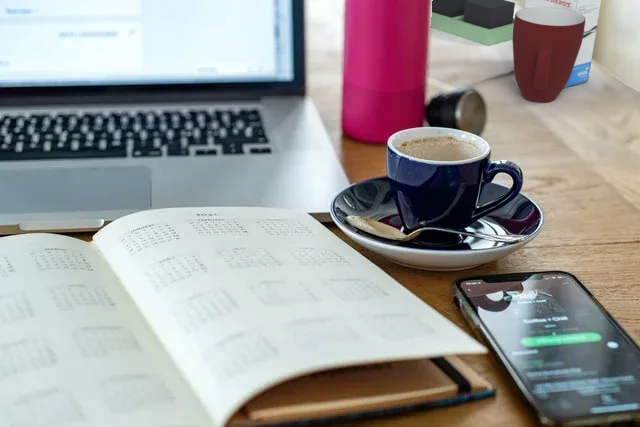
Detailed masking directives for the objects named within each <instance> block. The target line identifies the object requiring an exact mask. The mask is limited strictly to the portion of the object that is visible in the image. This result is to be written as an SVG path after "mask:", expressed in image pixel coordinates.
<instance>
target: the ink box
mask: <svg viewBox="0 0 640 427" xmlns="http://www.w3.org/2000/svg"><path fill="white" fill-rule="evenodd" d="M601 4H602V0H524V3H523V9H525V8H531V7H551V8H560V9H566V10H570V11H574V12H577V13H579V14H581V15H583V16H584V17H585V28H584V34H583V40H582V44H581V47H580V50H579V53H578V56H577V59H576V62H575V64H574V67H573V70H572V73H571V76H570V79H569V81H568V82H567V84H566V86H565V87H564V88H563V89H565V88H569V87H572V86H576V85H580V84H584V83H586V82H589V78H590V73H591V66H592V60H593V54H594V47H595V42H596V36H597V29H598V25H599V24H598V22H599V16H600V11H601Z"/></svg>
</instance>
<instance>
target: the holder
mask: <svg viewBox="0 0 640 427" xmlns="http://www.w3.org/2000/svg"><path fill="white" fill-rule="evenodd" d="M514 19H515V17H513V24H509V25H505V26H501V27H497V28H494V29H490V30H489V29H486V28H483V27H480V26H476V25H473V24H470V23H466V22H464V15H461V16H457V17H453V18H450V17H447V16H443V15H440V14H437V13H434V12H432V17H431V27H430V28H431V29H434V30H438V31H440V32H444V33H447V34H450V35H453V36H457V37H460V38H463V39H465V40H469V41H472V42H475V43H478V44H480V45H481V44H482V45H484V46H488V47H491V46H494V45H497V44H501V43H504V42H508V41H511V40H512V41H513V26H514Z"/></svg>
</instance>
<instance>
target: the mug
mask: <svg viewBox="0 0 640 427" xmlns="http://www.w3.org/2000/svg"><path fill="white" fill-rule="evenodd" d="M514 18H515V19H514V26H513V39H512V54H513V55H512V56H513V72H514V73H513V74H514V78H515V81H516V84H517V86H518V89H519V91H520V93H521V95H522V97H523V98H524V99H525V100H526V101H527V100H528V101H530V102H534V103H550V102H553V101H555V100H556V99H557V98H558V97H559V95H560V94H561V93H562V91H563V90H564V89H565V88H566V87H565V86H566V84H567V82H568V81H569V79H570V76H571V73H572V70H573V67H574V64H575V62H576V59H577V56H578V53H579V50H580V47H581V44H582V40H583V34H584V28H585V17H584V16H583V15H581V14H579V13H577V12H574V11H570V10H566V9H560V8H551V7H531V8H525V9H524V8H521V9H519V10H517V11H516V12H515V13H514ZM564 87H565V88H564Z"/></svg>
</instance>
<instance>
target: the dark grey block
mask: <svg viewBox="0 0 640 427" xmlns="http://www.w3.org/2000/svg"><path fill="white" fill-rule="evenodd" d="M515 6H516V2H513V1H510V0H468V1H465V12H464V22H466V23H470V24H473V25H476V26H480V27H483V28H486V29H489V30H490V29H494V28H497V27H501V26H505V25H509V24H513V18H514V17H515V9H516V8H515Z"/></svg>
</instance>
